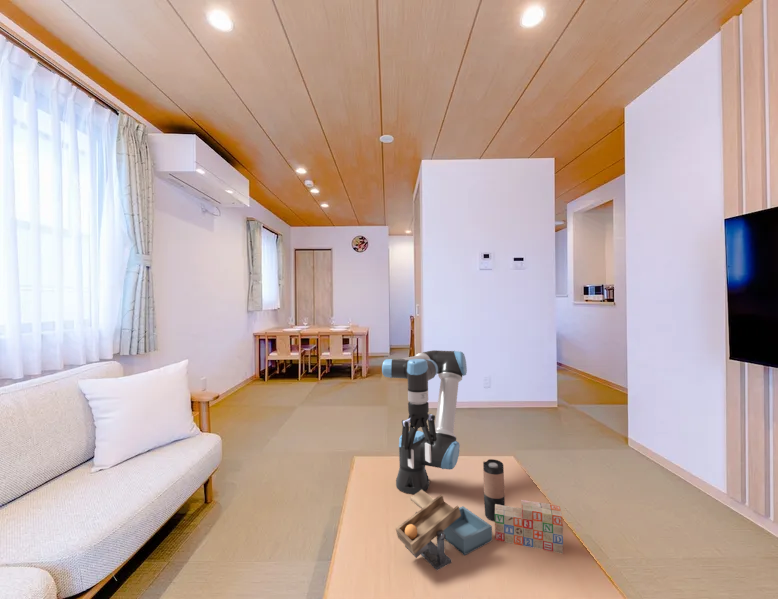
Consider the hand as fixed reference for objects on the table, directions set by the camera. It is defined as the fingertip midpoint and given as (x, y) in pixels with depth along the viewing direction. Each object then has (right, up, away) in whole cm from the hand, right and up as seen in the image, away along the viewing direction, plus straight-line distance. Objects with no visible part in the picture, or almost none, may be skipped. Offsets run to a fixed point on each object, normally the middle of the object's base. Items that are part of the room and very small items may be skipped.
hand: (419, 464), depth 126 cm
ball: (-4, -13, -17) cm, 22 cm away
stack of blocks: (+36, -22, -9) cm, 44 cm away
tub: (+15, -23, -6) cm, 28 cm away
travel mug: (+29, -23, +5) cm, 38 cm away
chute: (0, -17, -8) cm, 19 cm away
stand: (+2, -23, -14) cm, 27 cm away
